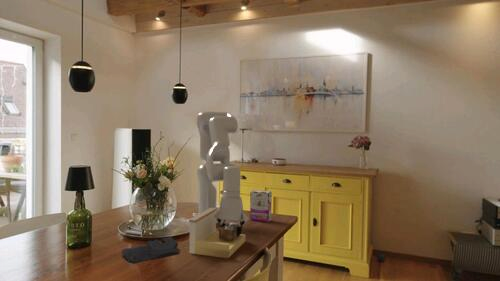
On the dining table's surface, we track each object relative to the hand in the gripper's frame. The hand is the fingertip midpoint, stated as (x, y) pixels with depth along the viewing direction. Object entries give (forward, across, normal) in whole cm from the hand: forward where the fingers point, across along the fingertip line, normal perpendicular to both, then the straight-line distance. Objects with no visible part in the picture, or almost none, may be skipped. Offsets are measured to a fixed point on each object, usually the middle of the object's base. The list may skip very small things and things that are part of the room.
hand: (231, 233), depth 158 cm
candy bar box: (+5, +2, +43) cm, 44 cm away
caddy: (+1, 0, 0) cm, 1 cm away
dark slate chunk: (+6, -28, -20) cm, 35 cm away
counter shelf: (+5, -4, -5) cm, 8 cm away
